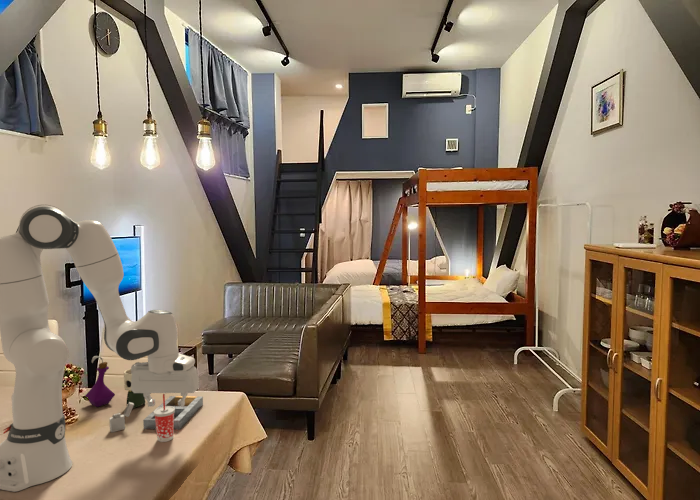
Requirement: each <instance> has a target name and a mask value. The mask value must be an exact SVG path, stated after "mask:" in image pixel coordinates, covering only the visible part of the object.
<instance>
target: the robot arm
mask: <svg viewBox="0 0 700 500" xmlns="http://www.w3.org/2000/svg"><path fill="white" fill-rule="evenodd" d="M19 219H20V220H19V224H18V227H17V229H16V232H15V233H13V234H9V235H4V236H0V339H1V348H2V353H3V355H4V357H5V359H6V360H7V361H8V362H10V363H11V364H12V365H13V366H14V369H15V370H14V371H15V380H14V386H13V392H12V394H11V409H12V410H11V412H12V423H11V424H9V426H8V427H5V428H4V429H3V431H4V432H3V433H2V434H6V433H7V432H8V434H7V437H6V439H4V440H3V441H1V442H0V490H3V491H8V492H19V491H23V490H25V489H28V488H29V487H33V486H36V485H41V484H44V483H47V482H50V481H52V480H55V479H56V478H59V477H61V476H63V475H64V474H65V473H67V472H68V471H69V470H70V469H71V468H72V466H73V461H72V458H71V456H70V453H69V450H68V446H67V441H66V417H65V414H64V413H63V411H64V410H63V396H62V395H63V393H62V390H63V380H64V379H63V378H64V375H65V368H66V365H67V363H68V361H69V357H70V351H69V348H68V346H67V344H66V342H65V341H64V339H63V338H62V337H61V335H58V334H56V333H54V332H52V331H51V329H50V325H49V305H50V298H49V294H48V290H47V289H48V288H47V285H46V281H45V276H44V271H43V267H42V263H41V254H42V252H43V250H53V249H54V250H55V249H59V250H60V249H65V250H67V252H68V253H69V255H70V256H71V258H72V261H73V263H74V267H75V268H76V271H77V272H78V275H79V277H80V279H81V280H82V282H83V283H84V285H85V286H86V288H87V289H88V290H89V292H90V293H91V294H92V296H93V298H94V300H95V302H96V305H97V307H98V310H99V312H100V315H101V317H102V320H103V323H104V330H103V331H104V333H103V340H104V343H105V346H106V347H107V348H108V349H109V350H110V351H112V352H114V353H115V354H116V355H117V356H119V357H120V358H121V359H123V360H126V361H137V360H139V359H143V358H145V357H147V361H144V362H143V361H142V362H139V361H137V362H135V363H133V364H132V365H131V367H130V369H131V374H132V379H131V390H132V391H133V393H143V395H144V398H145V401H146V402H147V407H154V406H156V399H155V398H153V397H152V395H151V394H180V396H183V397H182V399H180V400H179V401H178V405H177V406H178V407H183V406H186V405H185V398H186V396H188V394H194V393H196V391H197V390H199V387H200V377H199V372H198V369H197V367H196V366H194V365H195V363H196V359H195V358H194V357H192V356H190V355H186V354H182V353H180V352H179V347H178V345H177V342H178V338H179V335H178V325H177V320H176V317H175V314H173V313H172V312H170V311H169V310H164V309H152V310H151V309H150V310H148V311H147V312H146V313H145V315H143V316H142V317H141V318H140V319H138V320H136V321H132V319H130V318H129V316H128V314H127V313H126V310H125V307H124V305H123V301H122V298H121V296H120V292H119V286H120V284H121V282H122V281H123V278H124V275H125V274H124V267H123V263H122V260H121V257H120V254H119V251H118V249H117V247H116V245H115V243H114V241H113V239H112V237H111V235H110V233H109V232H108V230H107V229H106V227H105V226H104V225H103V224H102V223H101V222H100V221H97V220H92V219H85V220H84V219H83V220H81V221H74V220H73V219H72V218H71V217H69V216H68V215H67V214H66V213H65V212H64V211H63V210H62V209H60V208H58V207H56V206H54V205H51V204H38V205H34V206H32V207H29V208H28V209H26V211H25V212H23V213H22V215H21V216H20V218H19Z"/></svg>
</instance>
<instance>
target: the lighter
mask: <svg viewBox="0 0 700 500" xmlns="http://www.w3.org/2000/svg"><path fill="white" fill-rule="evenodd" d="M133 406H134V404H133V403H131V402H129V403H128V404H127V406H126V407H125V409H124V413H123V414H121V412H117V413H114V414H113V415H112V416H111V417H109V431H110V433H111V434H112V433H115V432H118V431H121V430H125V429H126V421H125V420H126V419H125V418H126V417H127V418H129V417H130V414H131V412H132V410H133V409H134V408H133Z"/></svg>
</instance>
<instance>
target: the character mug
mask: <svg viewBox="0 0 700 500" xmlns="http://www.w3.org/2000/svg"><path fill="white" fill-rule="evenodd" d="M131 379H132V374H131V368H128V369H125V370H124V371H123V382H124V385H123V386H124V390H125V391H128V392H127V396H126V404H125V405H126V407H127V405H128V403H129V402H131V403H133V404H134V406H133V408H132V409H134V408H138V407H140V406H143V405H145V404H146V399H145V398H144V395H143V393H133V391H132V390H131Z"/></svg>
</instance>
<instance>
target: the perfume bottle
mask: <svg viewBox="0 0 700 500" xmlns="http://www.w3.org/2000/svg"><path fill="white" fill-rule="evenodd" d="M96 359H100V360H101V362H100V363H99V364H98V367H97V368H96V371H97V372H98V375H97V376H98V377H97V379H96V381H95V382H94V385H93V386H92V387H91V388H90V390H89V391H88V392H87V393H86V394H85V395H84V397H85V396H86V397H88V399H89V401H88V402H89V403H90V404H91V405H92V406H94V407H96V408H100V407H102V406H105V405H106V406H107V405H108V404H110V403H111V401H112V400H113V398H114V397H115V395H116V394H115V392H113V391H112V390H111V389H110V388H109V387H108V386H107V385H106V384H105V382H104V378H105V375H106V372H107V371H108V370H109V369H110V368H109V366H108V362H107V361H103V358H102V357H101V356H99V355H94V356H93V357H92V359H91V363H92V364H93V363H94V361H95V360H96Z"/></svg>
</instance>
